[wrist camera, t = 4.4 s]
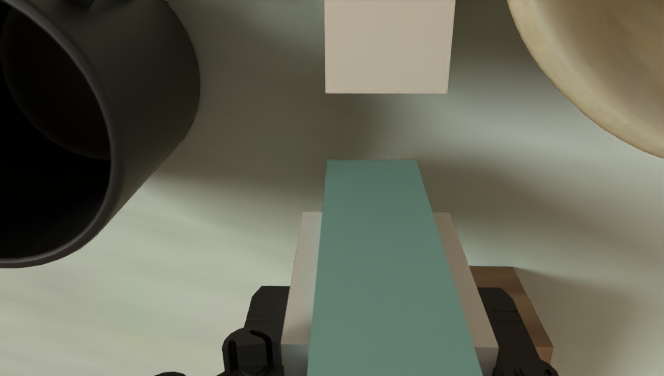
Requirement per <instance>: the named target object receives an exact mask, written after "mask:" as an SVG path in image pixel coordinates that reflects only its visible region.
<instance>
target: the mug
mask: <svg viewBox="0 0 664 376" xmlns="http://www.w3.org/2000/svg"><path fill="white" fill-rule="evenodd" d="M199 96H200V76H199V68H198V63H197V59H196V55H195V52H194V48H193V45H192V43H191V41H190V39H189V36H188V34H187V32H186V30H185V28H184V27H183V25H182V23H181V22H180V20H179V19H178V17H177V15H176V14H175V13H174V11H173V10H172V9H171V8H170V7H169V5H168V4H167V3H166V2H165V1H164V0H0V268H24V267H31V266H38V265H43V264H46V263H49V262H52V261H55V260H58V259H61V258H63V257H66V256H68V255H70V254H71V253H73V252H75V251H77V250H79V249H81V248H82V247H83V246H84V245H86V244H87V243H88V242H90V241H91V240H92V239H93V238H94V237H95V236H96V235H98V233H99V232H100V231H101V230H102V229H103V228H104V227H105V226H106V225H107V223H108V222H109V221H110V220H111V219H112V218H113V217H114V216H115V215H116V213H117V212H118V211H119V210H120V209H121V208H122V207H123V206H124V204H125V203H126V202H127V201H128V200H129V199H130V198H131V197H132V196H133V194H134V193H135V192H136V191H137V190H138V189H139V188H140V187H141V186H142V184H143V183H144V182H145V181H146V180H147V179H148V178H149V177H150V176H151V174H152V173H153V172H154V171H155V170H156V169H157V168H158V167H159V166H160V164H161V163H162V162H163V161H164V160H165V159H166V158H167V157H168V155H169V154H170V153H171V152H172V151H173V150H174V149H175V148H176V147H177V145H178V144H179V143H180V142H181V141H182V140H183V139H184V137H185V136H186V134H187V132H188V131H189V129H190V127H191V125H192V123H193V120H194V118H195V115H196V112H197V108H198V103H199Z"/></svg>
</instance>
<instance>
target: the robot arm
mask: <svg viewBox="0 0 664 376" xmlns="http://www.w3.org/2000/svg"><path fill="white" fill-rule="evenodd" d="M432 213H433V216H434V219H435V222H436V226H437V229H438V232H439V235H440V239H441V242H442V245H443V248H444V252H445V255H446V258H447V261H448V264H449V268H450V271H451V274H452V277H453V281H454V284H455V287H456V290H457V294H458V297H459V300H460V303H461V307H462V310H463V313H464V316H465V319H466V323H467V326H468V329H469V332H470V336H471V339H472V342H473V345H474V349H475V352H476V355H477V358H478V362H479V365H480V368H481V371H482V374H483V376H559V375H558V373H557V371H556V370H555V369H554V368H553V367H552V366H551V365H550V364H549V363H547V362H545V361H543V360H541V359H540V357H539V355H538V353H537V351H536V348H535V346H534V344H533V342H532V340H531V337H530V335H529V333H528V331H527V329H526V326H525V324H524V323H523V320H522V318H521V316H520V313H518V309H517V307H516V305H515V302H514V300H513V298H512V297H511V296H509V295H508V294H507V293H506V292H505V291H504V290H503V289H502V288H495V287H476V284H475V281H474V279H473V276H472V273H471V271H470V268H469V265H468V262H467V260H466V257H465V254H464V252H463V249H462V246H461V243H460V241H459V238H458V235H457V233H456V230H455V227H454V224H453V222H452V219H451V216H450V214H449V213H439V212H432ZM321 220H322V212H302V218H301V224H300V230H299V236H298V242H297V248H296V254H295V260H294V266H293V273H292V279H291V285H290V286H261V287H260V289H259V290H258V291H257V292H256V293H255V294H254V295H253V296H252V299H251V303H250V307H249V311H248V314H247V318H246V322H245V325H244V328H241V329H238V330H236V331H235V332H233V333H231V334H230V335H229V336H228V337H227V338H226V339H225V340H224V343H223V346H222V352H223V360H224V368H225V371H224V372H223V373H221V374H219V375H217V376H307V369H308V358H309V348H310V337H311V326H312V316H313V305H314V294H315V284H316V273H317V262H318V252H319V241H320V231H321ZM155 376H186V375H184V374H182V373H178V372H164V373H161V374H158V375H155Z"/></svg>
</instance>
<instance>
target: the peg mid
mask: <svg viewBox="0 0 664 376" xmlns="http://www.w3.org/2000/svg"><path fill="white" fill-rule="evenodd" d="M324 9H325V93H432V94H447V90H448V79H449V68H450V56H451V45H452V34H453V22H454V11H455V0H324Z"/></svg>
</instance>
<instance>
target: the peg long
mask: <svg viewBox="0 0 664 376" xmlns="http://www.w3.org/2000/svg"><path fill="white" fill-rule="evenodd" d="M307 376H483V374H482V371H481V368H480V365H479V362H478V358H477V355H476V352H475V349H474V345H473V342H472V339H471V336H470V332H469V329H468V326H467V323H466V319H465V316H464V313H463V310H462V307H461V303H460V300H459V297H458V294H457V290H456V287H455V284H454V281H453V277H452V274H451V271H450V268H449V264H448V261H447V258H446V255H445V252H444V248H443V245H442V242H441V239H440V235H439V232H438V229H437V226H436V222H435V219H434V216H433V213H432V209H431V206H430V203H429V200H428V196H427V193H426V190H425V187H424V184H423V180H422V177H421V174H420V171H419V167H418V164H417V161H416V160H327V167H326V177H325V188H324V199H323V209H322V220H321V231H320V241H319V252H318V262H317V273H316V284H315V294H314V305H313V316H312V326H311V337H310V348H309V358H308V369H307Z"/></svg>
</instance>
